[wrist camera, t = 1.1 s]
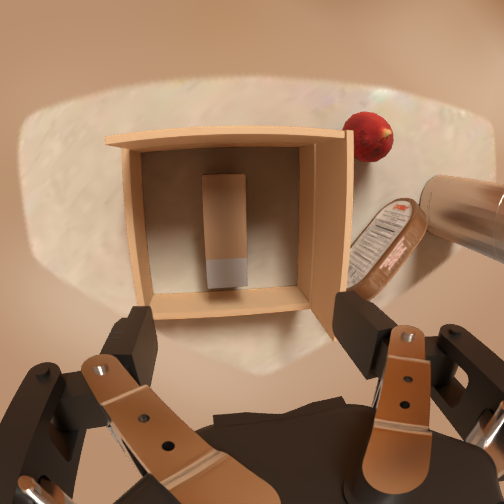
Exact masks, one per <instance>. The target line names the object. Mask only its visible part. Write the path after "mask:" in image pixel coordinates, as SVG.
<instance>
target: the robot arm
mask: <svg viewBox="0 0 504 504" xmlns="http://www.w3.org/2000/svg"><path fill="white" fill-rule="evenodd" d="M420 208H421V209H422V210H423V211H424V212H425V213H426V215H427V218H428V225H427V230H428V231H429V232H430V233H432V234H434V235H437V236H439V237H442V238H444V239H447V240H449V241H452V242H454V243H456V244H459V245H461V246H464V247H466V248H469V249H471V250H473V251H476V252H478V253H481V254H483V255H485V256H487V257H490V258H492V259H494V260H497V261H499V262H501V263H503V264H504V185H502V184H497V183H491V182H485V181H479V180H473V179H467V178H461V177H453V176H445V175H437V176H435V177H433V178H432V179H431V180H429V181H428V183H427V184H426V186H425V188H424V190H423V192H422V196H421V201H420ZM332 330H333V333H334V336H335V337H336V339H337V340H338V341H339V342H340V344H341V345H342V347H343V348H344V350H345V351H346V352H347V354H348V355H349V356H350V358H351V359H352V360H353V362H354V363H355V365H356V366H357V367H358V369H359V370H360V371H361V373H362V374H363V376H364V377H365V378H366V379H367V380H368V379H372V378H375V377H378V378H379V380H378V383H377V386H376V391H375V394H374V398H373V402H372V406H371V407H368V406H364V405H356V404H346V403H345V401H344V399H343V398H342V396H340V397H336V398H331V399H327V400H322V401H317V402H312V403H310V404H307V405H305V406H302V407H300V408H297V409H295V410H292V411H290V412H287V413H284V414H265V413H249V412H244V413H234V414H222V415H213V421H214V424H213V425H209V426H206V427H203V428H201V429H199V430H196V431H193V430H192V429H191V428H190V427H189V426H188V425H187V424H186V423H184V422H183V421H182V420H181V419H180V418H179V417H178V416H177V415H176V414H175V413H174V412H173V411H172V410H171V409H170V408H169V407H168V406H167V405H166V404H165V403H164V402H163V401H162V400H161V399H160V398H159V397H158V396H157V395H156V394H155V392H153V390H152V389H151V388H150V386H151V381H152V375H153V371H154V366H155V361H156V356H157V351H158V342H157V335H156V330H155V325H154V319H153V314H152V309H151V307H150V306H133V307H132V309H131V311H130V314H129V316H128V318H121V319H120V320H119V321H118V322H116V323H115V324H114V326H113V328H112V330H111V332H110V334H109V336H108V338H107V340H106V342H105V344H104V346H103V348H102V350H101V353H100V354H99V355H95V356H92V357H90V358H88V359H87V360H86V361H85V362H84V363H83V364H82V366H81V371H77V372H72V373H64V374H62V373H61V371H60V368H59V367H58V366H57V365H56V364H54V363H50V362H45V363H40V364H38V365H36V366H34V367H32V368H31V369H30V370H29V371H28V373H27V375H26V376H25V378H24V380H23V381H22V383H21V385H20V387H19V389H18V390H17V392H16V394H15V396H14V398H13V399H12V401H11V403H10V405H9V407H8V409H7V411H6V413H5V415H4V417H3V419H2V421H1V423H0V504H76V503H75V502H74V501H73V500H72V498H73V492H74V486H75V480H76V475H77V470H78V465H79V460H80V455H81V451H82V447H83V442H84V438H85V434H86V429H90V428H96V427H103V426H106V427H107V428H108V430H109V431H110V433H111V435H112V436H113V438H114V439H115V441H116V442H117V443H118V445H119V446H120V448H121V449H122V451H123V452H124V454H125V455H126V456H127V457H128V459H129V461H130V462H131V464H132V465H133V467H134V468H135V470H136V471H137V472H138V474H139V475H140V476H141V479H140V480H139V481H138V482H137V483H136V484H135V485H134V486H132V487H131V488H130V489H129V490H128V491H127V492H126V493H125V494H123V495H122V496H121V497H120V498H119V499H118V500H116V501H115V502H114V503H113V504H504V498H503V496H502V493H501V490H500V486H499V481H504V361H503V360H502V359H500V358H499V357H498V356H497V355H496V354H495V353H494V352H492V351H491V350H490V349H489V348H488V347H487V346H485V345H484V344H483V343H482V342H481V341H479V340H478V339H477V338H476V337H474V336H473V335H472V334H471V333H470V332H468V331H467V330H466V329H464V328H463V327H461V326H458V325H454V324H446V325H443V326H442V327H441V328H440V331H439V335H438V336H433V337H425V336H424V333H423V332H422V331H421V330H419V329H418V328H415V327H413V326H409V325H400V326H398V325H397V324H396V323H395V322H394V321H393V320H392V319H390V318H389V317H388V316H387V315H386V314H385V313H384V312H383V311H382V310H380V309H379V308H378V307H377V306H376V305H375V304H374V303H371V302H369V301H367V300H365V299H363V298H362V297H360V296H359V295H358V294H357V293H356V292H355V291H353V290H352V291H344V292H337V294H336V296H335V303H334V312H333V320H332ZM458 366H460V367H461V368H462V369H463V370H464V371H465V372H466V373H467V375H468V379H469V382H468V386H467V388H466V389H465V388H464V387H463V386H462V385H461V384H460V383H459V381H458V380H457V379H456V378H455V377H454V375H455V373H456V371H457V368H458ZM430 397H431V398H432V400H433V401H434V402H435V404H436V405H437V406H438V407H439V409H440V410H441V411H442V412H443V414H444V415H445V416H446V418H447V419H448V420H449V422H450V423H451V424H452V426H453V427H454V428H455V430H456V431H457V432H458V433H459V435H460V436H461V438H462V439H463V440H464V441H461V440H458V439H455V438H452V437H449V436H446V435H443V434H440V433H438V432H435V431H432V430H430V429H429V419H430Z"/></svg>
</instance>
